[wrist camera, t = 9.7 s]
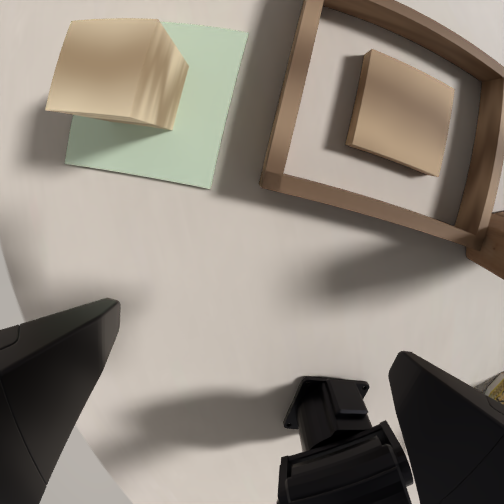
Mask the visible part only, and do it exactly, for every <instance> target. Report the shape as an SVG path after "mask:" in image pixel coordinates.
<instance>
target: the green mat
mask: <svg viewBox="0 0 504 504" xmlns="http://www.w3.org/2000/svg"><path fill="white" fill-rule="evenodd" d="M160 23H161V24H162V26H163V27H164V29H165V30H166V32H167V33H168V35H169V36H170V38H171V39H172V41H173V42H174V44H175V45H176V47H177V48H178V50H179V51H180V53H181V54H182V56H183V57H184V59H185V61H186V62H187V64H188V65H189V69H188V72H187V76H186V79H185V83H184V87H183V90H182V94H181V98H180V102H179V106H178V110H177V114H176V118H175V122H174V126H173V130H167V129H160V128H154V127H147V126H140V125H133V124H125V123H117V122H109V121H104V120H99V119H94V118H89V117H83V116H78V115H73V118H72V123H71V128H70V133H69V139H68V145H67V151H66V158H65V164H70V165H77V166H84V167H90V168H97V169H103V170H109V171H115V172H122V173H127V174H133V175H139V176H145V177H150V178H156V179H161V180H167V181H172V182H177V183H182V184H187V185H192V186H197V187H202V188H207V189H211V185H212V180H213V175H214V171H215V166H216V162H217V157H218V153H219V148H220V144H221V140H222V135H223V131H224V127H225V123H226V118H227V114H228V110H229V106H230V102H231V98H232V94H233V90H234V86H235V83H236V79H237V75H238V71H239V67H240V64H241V60H242V56H243V53H244V49H245V45H246V42H247V38H248V35H249V33H248V32H243V31H237V30H231V29H225V28H218V27H211V26H203V25H194V24H184V23H171V22H160Z"/></svg>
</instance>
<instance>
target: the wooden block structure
mask: <svg viewBox="0 0 504 504" xmlns="http://www.w3.org/2000/svg"><path fill="white" fill-rule="evenodd" d="M466 257H467V258H468V259H470V260H471V261H473V262H475V263H477V264H478V265H480V266H482V267H484V268H485V269H487V270H489V271H490V272H492V273H494V274H495V275H497V276H499V277H500V278H502V279H503V280H504V211H503V212H498V213H495V214H493V213H492V214H491V217H490V221H489V225H488V228H487V231H486V235H485V238H484V241H483V244H482V247H481V251H478V250H475V249H472V248H469V247H466Z"/></svg>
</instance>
